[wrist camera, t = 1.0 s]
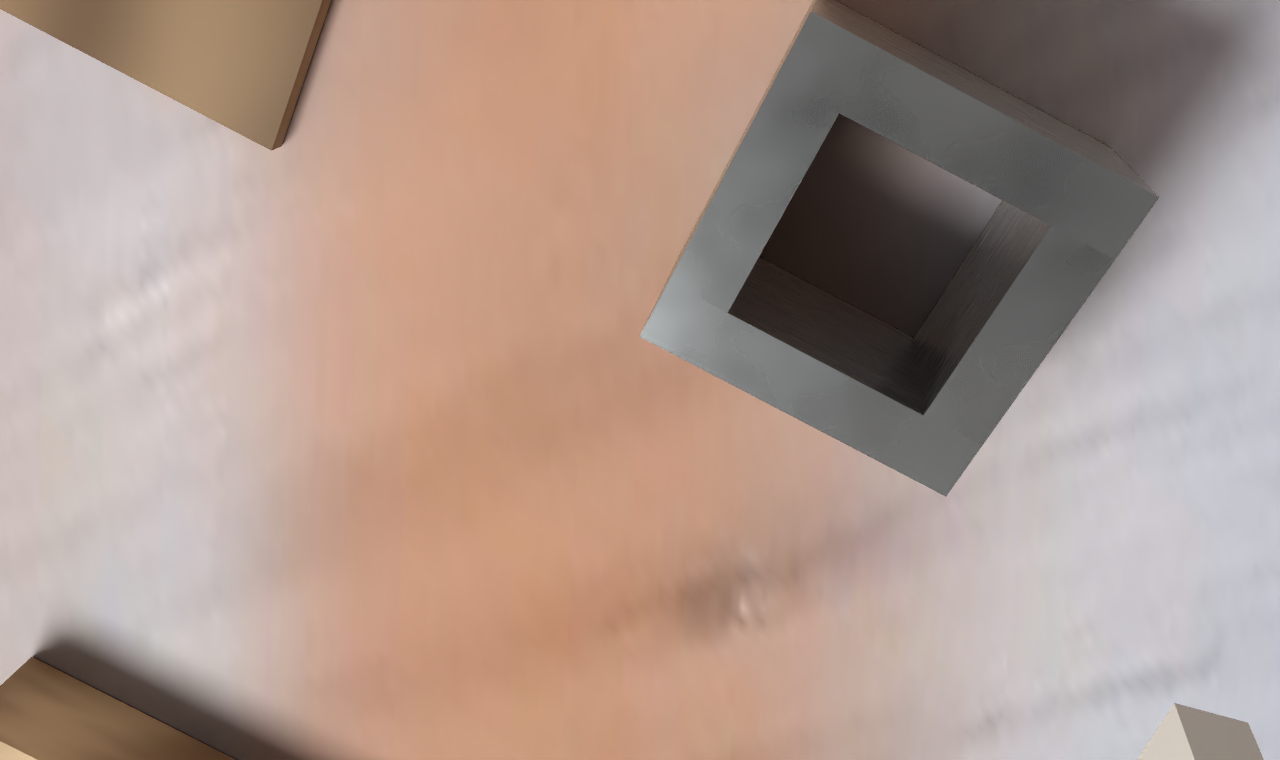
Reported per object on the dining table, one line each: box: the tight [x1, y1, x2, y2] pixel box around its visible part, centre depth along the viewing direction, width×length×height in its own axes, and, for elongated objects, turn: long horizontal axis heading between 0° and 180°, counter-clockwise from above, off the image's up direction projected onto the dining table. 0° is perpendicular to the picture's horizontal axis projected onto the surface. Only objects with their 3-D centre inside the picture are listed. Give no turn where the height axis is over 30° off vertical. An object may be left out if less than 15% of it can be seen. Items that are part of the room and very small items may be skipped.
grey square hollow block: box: [640, 0, 1159, 496], centre depth 27 cm, size 8×8×5 cm
